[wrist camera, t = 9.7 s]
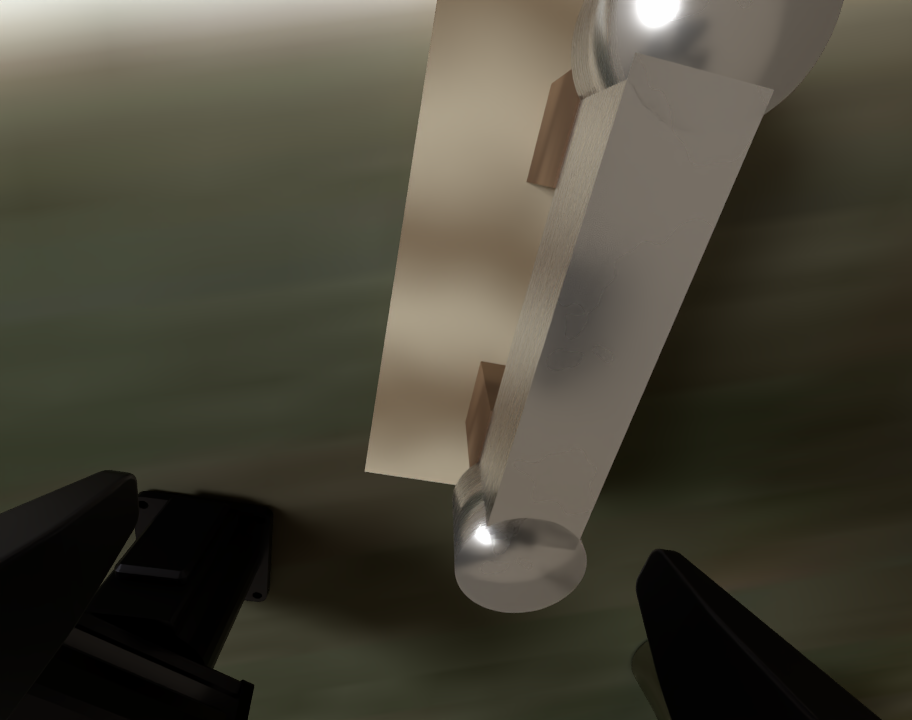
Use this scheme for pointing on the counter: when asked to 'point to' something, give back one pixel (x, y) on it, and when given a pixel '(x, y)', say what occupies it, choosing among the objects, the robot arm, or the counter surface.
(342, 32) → the counter surface
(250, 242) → the counter surface
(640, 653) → the beer glass
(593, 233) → the grey rod with balls
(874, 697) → the counter surface
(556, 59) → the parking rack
